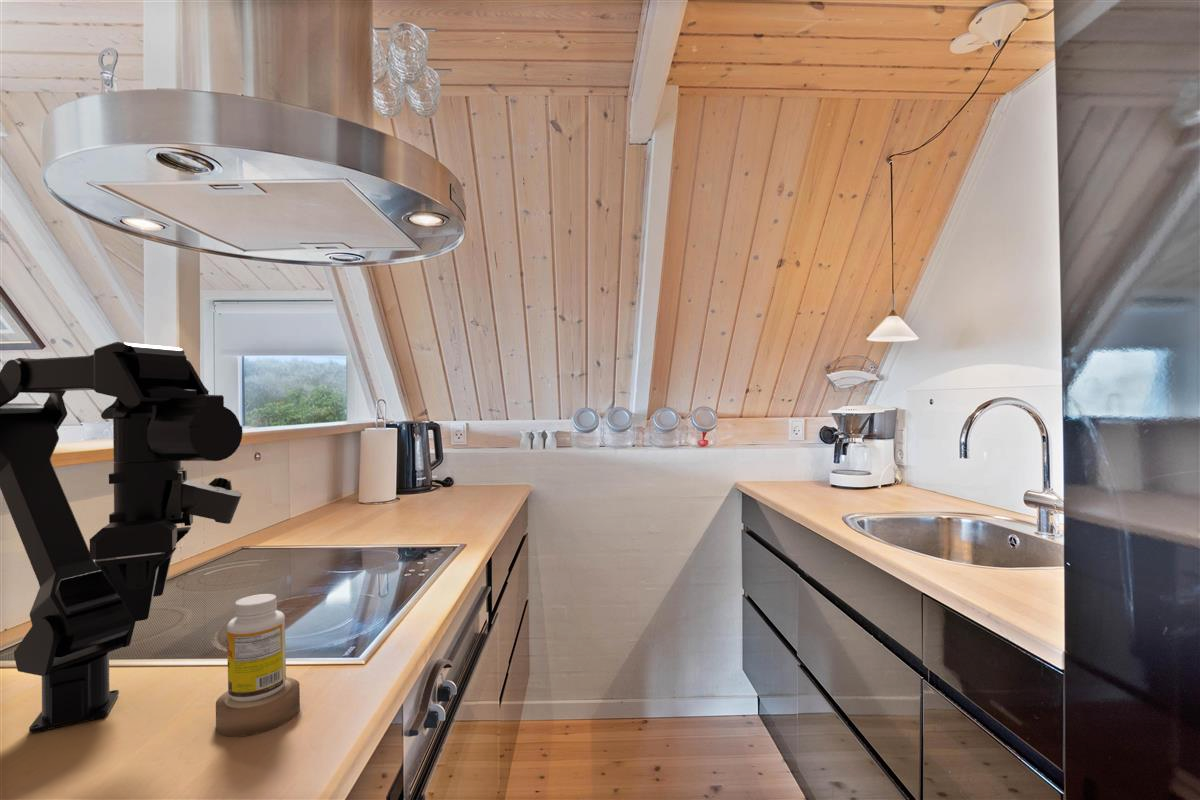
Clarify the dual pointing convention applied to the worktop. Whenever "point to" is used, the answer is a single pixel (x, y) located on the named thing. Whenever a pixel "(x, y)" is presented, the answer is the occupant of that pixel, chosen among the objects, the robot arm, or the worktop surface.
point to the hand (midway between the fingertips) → (149, 607)
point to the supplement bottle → (256, 649)
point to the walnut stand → (257, 711)
